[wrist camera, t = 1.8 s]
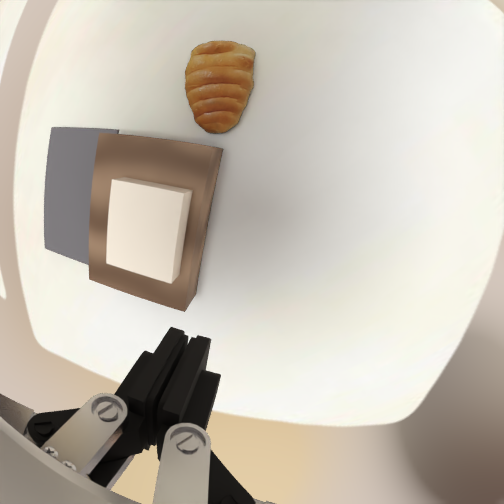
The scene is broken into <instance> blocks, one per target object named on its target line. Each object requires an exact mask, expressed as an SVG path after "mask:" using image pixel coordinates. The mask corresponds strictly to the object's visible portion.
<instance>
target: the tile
mask: <svg viewBox="0 0 504 504" xmlns="http://www.w3.org/2000/svg"><path fill="white" fill-rule="evenodd" d="M192 191H193V190H188V189H183V188H179V187H174V186H169V185H164V184H158V183H153V182H148V181H143V180H137V179H132V178H126V177H123V178H117V179H112V183H111V192H110V201H109V213H108V228H107V253H106V263H107V264H110V265H113V266H116V267H119V268H122V269H125V270H128V271H131V272H134V273H138V274H141V275H144V276H147V277H150V278H154V279H157V280H160V281H164V282H167V283H170V284H171V283H172V282H173V281H174V280H175V279H176V278H177V277H178V275H179V274H180V267H181V260H182V252H183V246H184V239H185V232H186V226H187V220H188V214H189V208H190V202H191V197H192Z"/></svg>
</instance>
